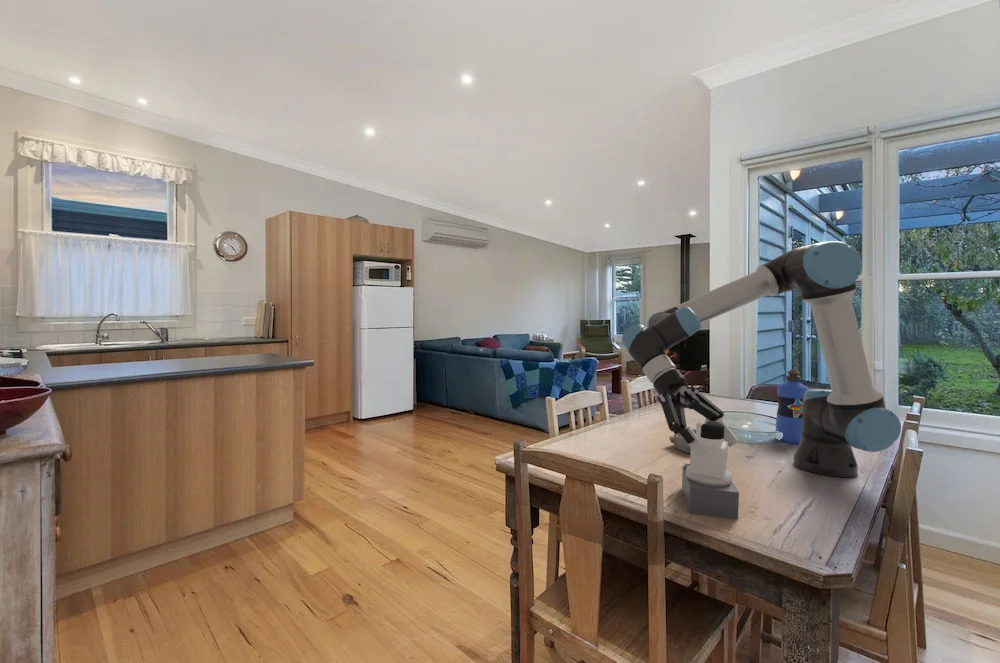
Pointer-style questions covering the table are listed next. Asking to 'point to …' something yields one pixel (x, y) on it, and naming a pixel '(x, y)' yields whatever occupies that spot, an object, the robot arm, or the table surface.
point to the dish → (681, 442)
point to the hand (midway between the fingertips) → (719, 449)
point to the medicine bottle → (710, 451)
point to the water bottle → (790, 408)
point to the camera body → (710, 494)
